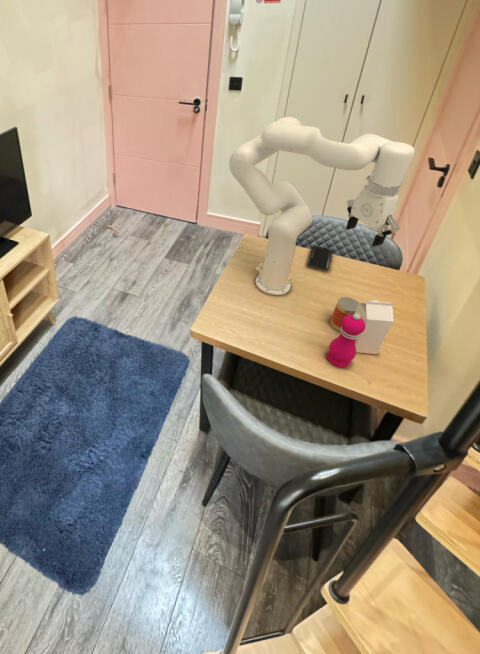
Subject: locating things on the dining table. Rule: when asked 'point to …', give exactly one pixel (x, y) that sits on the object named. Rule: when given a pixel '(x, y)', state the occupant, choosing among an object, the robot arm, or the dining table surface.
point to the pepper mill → (346, 341)
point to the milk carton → (374, 325)
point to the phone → (320, 258)
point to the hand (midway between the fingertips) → (363, 236)
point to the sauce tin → (343, 311)
